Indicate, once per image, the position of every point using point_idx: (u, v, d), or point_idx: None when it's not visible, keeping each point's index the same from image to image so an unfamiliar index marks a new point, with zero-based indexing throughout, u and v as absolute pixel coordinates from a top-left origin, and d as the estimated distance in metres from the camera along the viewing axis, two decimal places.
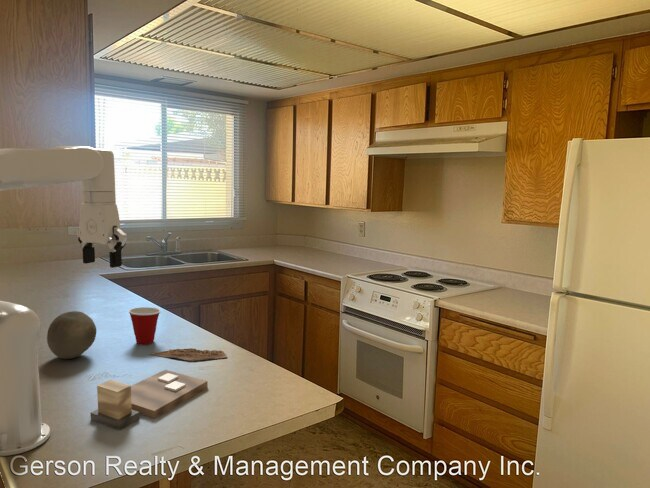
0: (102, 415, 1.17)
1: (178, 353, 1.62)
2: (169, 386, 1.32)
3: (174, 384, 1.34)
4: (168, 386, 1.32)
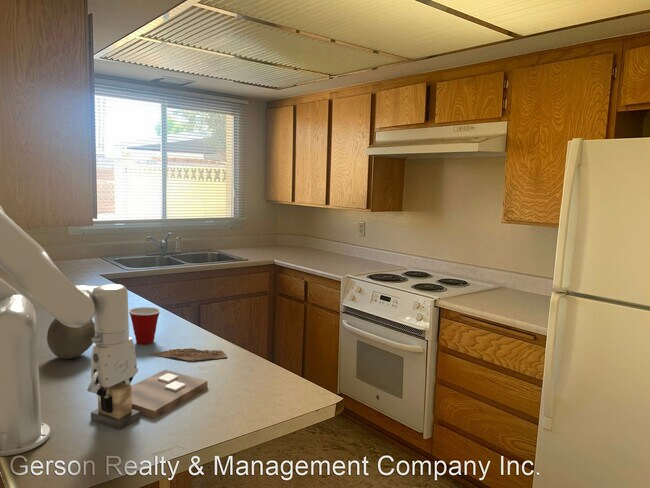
0: (102, 414, 1.17)
1: (178, 353, 1.62)
2: (169, 386, 1.32)
3: (174, 384, 1.34)
4: (168, 386, 1.32)
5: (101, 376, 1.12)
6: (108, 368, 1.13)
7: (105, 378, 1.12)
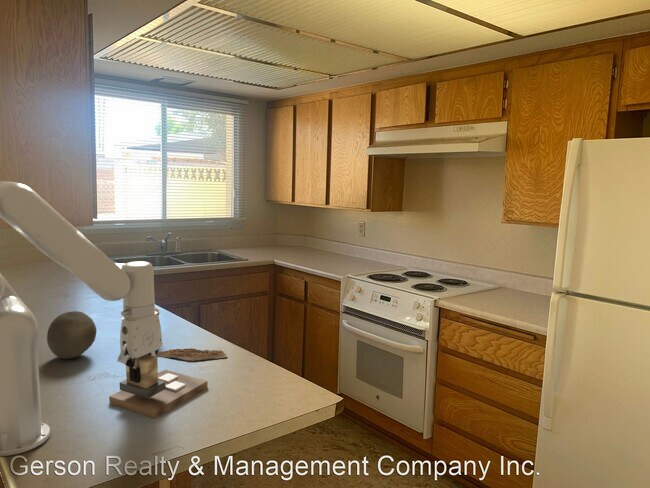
0: (131, 384, 1.24)
1: (178, 353, 1.62)
2: (169, 386, 1.32)
3: (174, 384, 1.34)
4: (168, 386, 1.32)
5: (130, 347, 1.19)
6: (136, 340, 1.20)
7: (134, 349, 1.19)
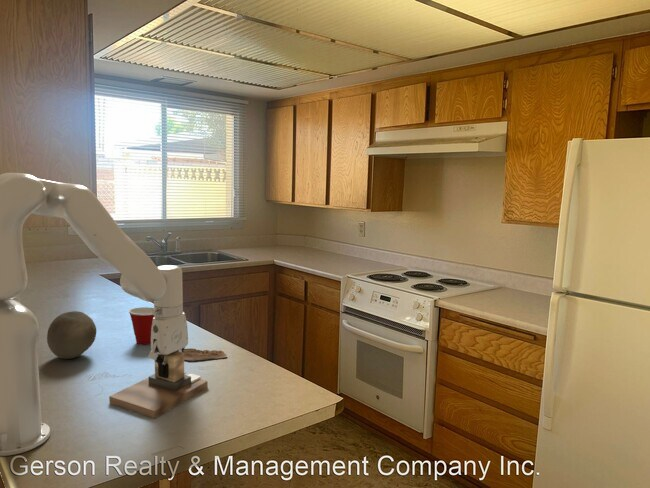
0: (159, 378, 1.34)
1: None
2: None
3: None
4: None
5: (160, 345, 1.28)
6: (166, 338, 1.29)
7: (164, 346, 1.29)
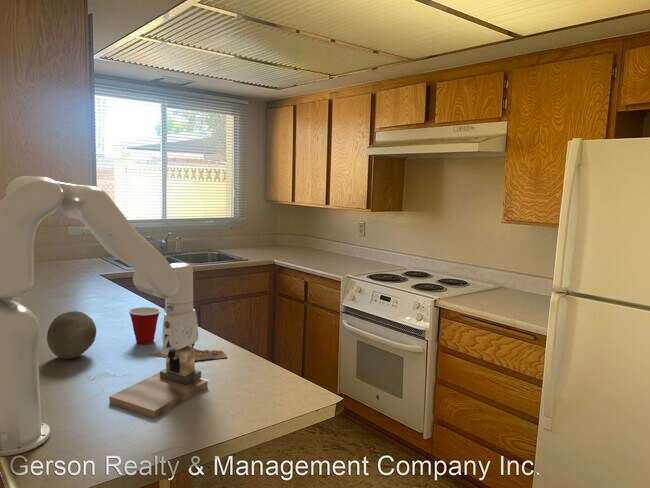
0: (170, 373, 1.37)
1: None
2: None
3: None
4: None
5: (172, 340, 1.32)
6: (177, 333, 1.33)
7: (175, 342, 1.32)
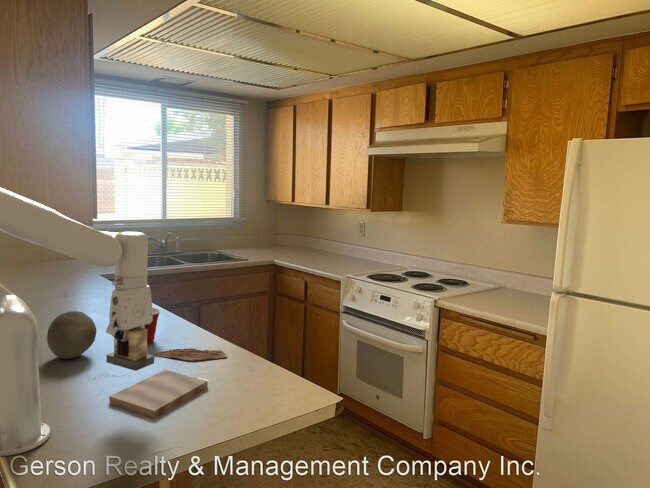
0: (118, 357, 1.21)
1: (178, 353, 1.62)
2: None
3: None
4: None
5: (120, 318, 1.16)
6: (127, 311, 1.16)
7: (123, 320, 1.16)
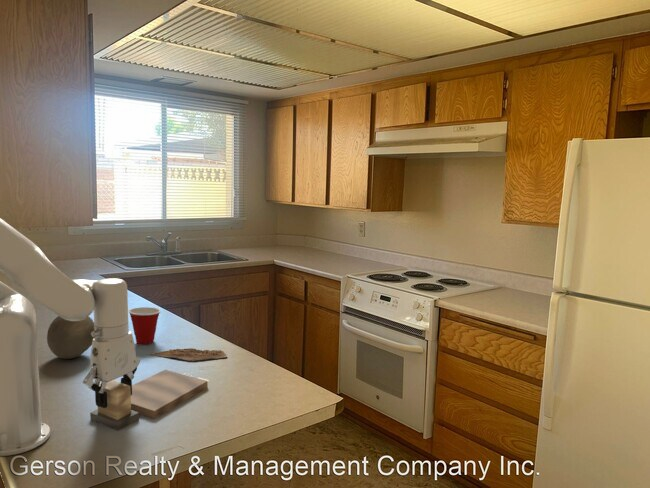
0: (102, 415, 1.17)
1: (178, 353, 1.62)
2: None
3: None
4: None
5: (100, 370, 1.12)
6: (107, 362, 1.12)
7: (104, 372, 1.12)
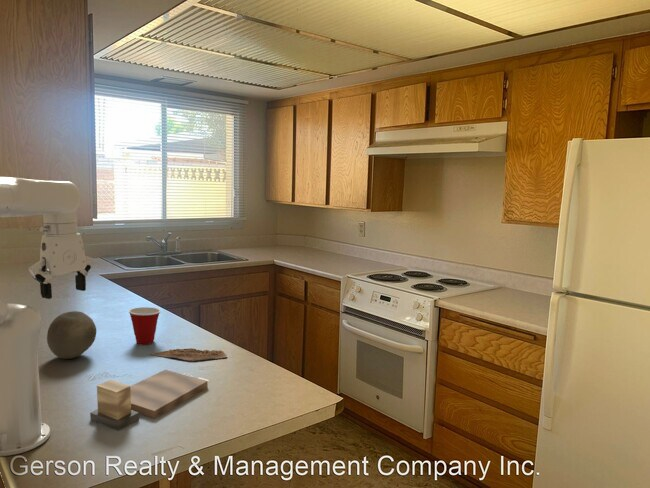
0: (102, 415, 1.17)
1: (178, 353, 1.62)
2: None
3: None
4: None
5: (49, 263, 1.20)
6: (55, 256, 1.21)
7: (52, 265, 1.21)
